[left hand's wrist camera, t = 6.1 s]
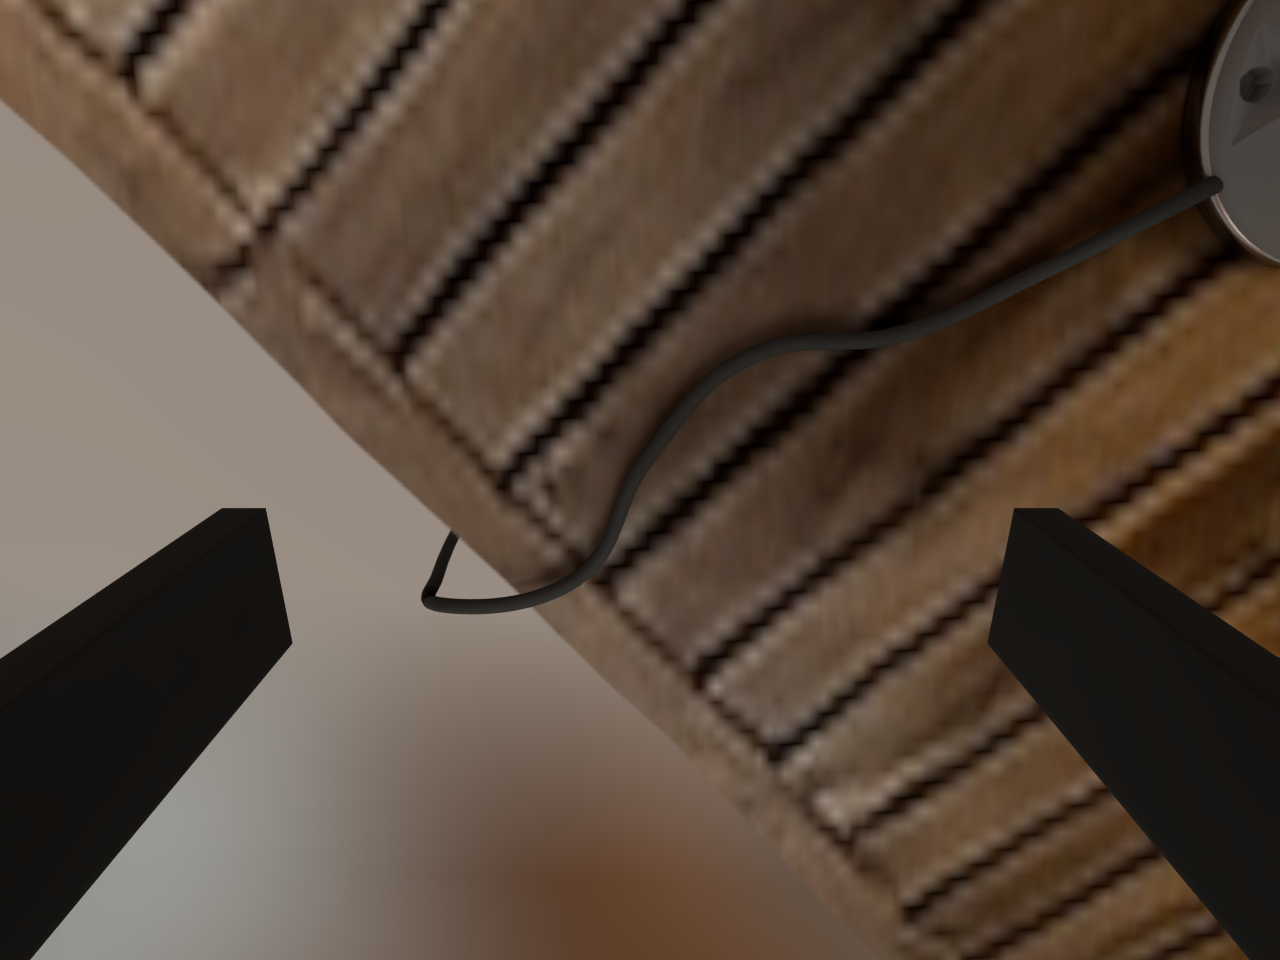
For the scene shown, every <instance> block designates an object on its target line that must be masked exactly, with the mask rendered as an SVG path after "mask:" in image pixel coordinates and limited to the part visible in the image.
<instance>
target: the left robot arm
mask: <svg viewBox="0 0 1280 960" xmlns="http://www.w3.org/2000/svg"><path fill="white" fill-rule="evenodd" d="M1183 153H1184V164H1185V170H1186V175H1187V180H1188V184H1189V188H1187V189H1185V190H1183V191H1181V192H1179V193H1177V194H1175V195H1173V196H1171V197H1169V198H1167V199H1165V200H1163V201H1161V202H1159V203H1158V204H1156V205H1154V206H1152V207H1150V208H1148V209H1146V210H1144V211H1142V212H1140V213H1138V214H1136V215H1134V216H1132V217H1130V218H1128V219H1126V220H1124V221H1122V222H1120V223H1118V224H1116V225H1114V226H1112V227H1110V228H1108V229H1106V230H1104V231H1102V232H1100V233H1098V234H1097V235H1095V236H1093V237H1091V238H1089V239H1087V240H1085V241H1083V242H1081V243H1079V244H1077V245H1075V246H1073V247H1071V248H1069V249H1067V250H1065V251H1063V252H1061V253H1059V254H1057V255H1055V256H1053V257H1051V258H1049V259H1047V260H1044V261H1042V262H1040V263H1038V264H1036V265H1034V266H1032V267H1030V268H1028V269H1026V270H1024V271H1022V272H1020V273H1018V274H1016V275H1014V276H1012V277H1010V278H1008V279H1006V280H1004V281H1002V282H1000V283H998V284H996V285H994V286H992V287H990V288H988V289H986V290H984V291H982V292H980V293H978V294H976V295H974V296H972V297H970V298H968V299H966V300H964V301H962V302H960V303H958V304H956V305H954V306H951V307H949V308H947V309H944V310H942V311H940V312H937V313H935V314H932V315H930V316H927V317H924V318H921V319H919V320H916V321H913V322H910V323H907V324H903V325H900V326H896V327H892V328H888V329H884V330H878V331H871V332H860V333H810V334H797V335H789V336H783V337H779V338H774V339H771V340H767V341H764V342H761V343H758V344H756V345H754V346H752V347H750V348H747V349H745V350H743V351H741V352H740V353H738V354H736V355H734V356H732V357H731V358H729V359H728V360H726V361H725V362H723V363H721V364H720V365H719V366H717V367H716V368H715V369H713V370H712V371H711V372H709V373H708V374H707V375H706V376H705V377H704V378H702V379H701V380H700V381H699V382H698V383H697V384H696V385H695V386H694V387H693V388H692V389H691V390H690V391H689V392H688V393H687V395H686V396H685V397H684V398H683V399H682V400H681V402H680V403H679V404H678V405H677V406H676V408H675V409H674V410H673V411H672V413H671V414H670V415H669V417H668V418H667V419H666V421H665V422H664V423H663V425H662V426H661V427H660V429H659V430H658V432H657V433H656V434H655V436H654V437H653V438H652V440H651V441H650V442H649V444H648V445H647V446H646V448H645V449H644V450H643V452H642V453H641V454H640V456H639V457H638V459H637V460H636V462H635V463H634V465H633V466H632V468H631V470H630V472H629V473H628V475H627V477H626V479H625V481H624V483H623V485H622V488H621V490H620V493H619V495H618V498H617V500H616V503H615V506H614V508H613V511H612V514H611V517H610V520H609V522H608V525H607V527H606V530H605V532H604V535H603V537H602V539H601V541H600V543H599V544H598V546H597V548H596V550H595V551H594V552H593V554H592V555H591V556H590V558H589V559H588V560H587V561H586V562H585V563H584V564H583V565H582V566H580V567H579V568H578V569H577V570H575V571H574V572H573V573H571V574H570V575H568V576H566V577H565V578H563V579H561V580H559V581H557V582H555V583H553V584H551V585H548V586H546V587H543V588H541V589H538V590H535V591H531V592H528V593H524V594H519V595H514V596H508V597H502V598H492V599H452V598H442V597H436V593H437V591H438V590H439V588H440V586H441V584H442V581H443V578H444V575H445V572H446V569H447V566H448V563H449V560H450V558H451V555H452V553H453V550H454V548H455V546H456V544H457V542H458V539H459V537H458V536H457V535H456V534H454V532H453V531H451V530H450V532H449V534H448V536H447V538H446V540H445V542H444V544H443V546H442V548H441V551H440V553H439V555H438V557H437V560H436V563H435V565H434V568H433V571H432V574H431V576H430V578H429V580H428V582H427V583H426V585H425V587H424V589H423V591H422V595H421V601H422V603H423V605H424V606H425V607H426V608H428V609H430V610H433V611H437V612H443V613H452V614H492V613H501V612H509V611H515V610H520V609H525V608H529V607H533V606H536V605H539V604H543V603H545V602H548V601H551V600H553V599H556V598H558V597H560V596H562V595H564V594H566V593H568V592H570V591H572V590H573V589H575V588H576V587H578V586H580V585H581V584H582V583H584V582H585V581H586V580H588V579H589V578H590V577H591V576H592V575H593V574H594V573H595V572H596V571H597V570H598V569H599V568H600V567H601V566H602V565H603V563H604V562H605V561H606V559H607V558H608V556H609V554H610V553H611V551H612V549H613V547H614V545H615V543H616V541H617V539H618V537H619V534H620V532H621V529H622V526H623V524H624V521H625V518H626V516H627V513H628V510H629V507H630V505H631V502H632V500H633V497H634V495H635V493H636V491H637V489H638V487H639V485H640V483H641V481H642V479H643V478H644V476H645V474H646V473H647V471H648V470H649V468H650V467H651V466H652V464H653V463H654V461H655V460H656V459H657V457H658V456H659V455H660V454H661V452H662V451H663V450H664V448H665V447H666V446H667V444H668V443H669V442H670V440H671V439H672V437H673V436H674V435H675V433H676V432H677V431H678V429H679V428H680V427H681V426H682V424H683V423H684V422H685V420H686V419H687V418H688V417H689V415H690V414H691V413H692V412H693V411H694V409H695V408H696V407H697V406H698V405H699V404H700V403H701V402H702V401H703V400H704V399H705V398H706V397H707V396H708V395H709V394H710V393H711V392H712V391H713V390H714V389H715V388H717V387H718V386H719V385H720V384H722V383H723V382H724V381H726V380H727V379H728V378H730V377H731V376H733V375H734V374H736V373H737V372H739V371H741V370H743V369H744V368H746V367H748V366H750V365H752V364H754V363H756V362H758V361H761V360H763V359H765V358H768V357H771V356H774V355H778V354H782V353H787V352H794V351H802V350H849V349H867V348H876V347H882V346H888V345H893V344H897V343H901V342H905V341H908V340H911V339H914V338H917V337H920V336H923V335H926V334H929V333H932V332H934V331H937V330H940V329H942V328H945V327H947V326H950V325H952V324H954V323H957V322H959V321H961V320H963V319H966V318H968V317H970V316H972V315H974V314H976V313H978V312H980V311H982V310H984V309H986V308H988V307H990V306H992V305H994V304H996V303H998V302H1000V301H1002V300H1004V299H1006V298H1008V297H1010V296H1012V295H1014V294H1016V293H1018V292H1020V291H1022V290H1024V289H1026V288H1028V287H1030V286H1032V285H1034V284H1036V283H1038V282H1040V281H1042V280H1044V279H1047V278H1049V277H1051V276H1053V275H1055V274H1057V273H1059V272H1061V271H1063V270H1065V269H1068V268H1070V267H1072V266H1074V265H1076V264H1078V263H1080V262H1082V261H1084V260H1086V259H1088V258H1090V257H1092V256H1094V255H1096V254H1098V253H1100V252H1102V251H1104V250H1106V249H1108V248H1110V247H1112V246H1114V245H1116V244H1118V243H1120V242H1122V241H1124V240H1126V239H1128V238H1130V237H1132V236H1134V235H1136V234H1138V233H1140V232H1142V231H1144V230H1146V229H1148V228H1150V227H1152V226H1154V225H1156V224H1158V223H1160V222H1162V221H1164V220H1166V219H1168V218H1170V217H1172V216H1174V215H1176V214H1178V213H1180V212H1182V211H1184V210H1186V209H1188V208H1190V207H1192V206H1194V205H1197V208H1198V210H1199V211H1200V213H1201V215H1202V216H1203V218H1204V220H1205V221H1206V223H1207V224H1208V225H1209V226H1210V228H1211V229H1212V230H1213V232H1214V233H1215V234H1216V235H1217V236H1218V237H1219V238H1220V239H1221V240H1222V241H1223V242H1224V243H1226V244H1227V245H1228V246H1230V247H1231V248H1232V249H1234V250H1235V251H1237V252H1239V253H1240V254H1242V255H1244V256H1246V257H1247V258H1250V259H1252V260H1255V261H1257V262H1259V263H1263V264H1266V265H1270V266H1274V267H1279V268H1280V0H1232V1H1231V2H1230V4H1229V5H1228V7H1227V8H1226V10H1225V11H1224V13H1223V14H1222V16H1221V18H1220V19H1219V21H1218V23H1217V25H1216V26H1215V28H1214V30H1213V32H1212V34H1211V36H1210V37H1209V40H1208V42H1207V44H1206V46H1205V48H1204V51H1203V53H1202V55H1201V57H1200V60H1199V63H1198V66H1197V68H1196V71H1195V74H1194V77H1193V80H1192V84H1191V88H1190V91H1189V95H1188V100H1187V106H1186V111H1185V119H1184V129H1183ZM291 644H292V638H291V633H290V628H289V623H288V618H287V613H286V608H285V603H284V598H283V593H282V588H281V583H280V578H279V573H278V568H277V563H276V558H275V553H274V548H273V542H272V537H271V532H270V527H269V522H268V517H267V512H266V508H222V509H220V510H219V511H217V512H216V513H214V514H213V515H211V516H210V517H208V518H207V519H205V520H204V521H202V522H201V523H200V524H198V525H197V526H195V527H194V528H192V529H191V530H189V531H188V532H186V533H185V534H183V535H182V536H180V537H179V538H178V539H176V540H175V541H173V542H172V543H170V544H169V545H167V546H166V547H164V548H163V549H161V550H160V551H158V552H157V553H155V554H154V555H153V556H151V557H149V558H148V559H147V560H145V561H144V562H142V563H141V564H139V565H138V566H136V567H135V568H133V569H132V570H130V571H129V572H127V573H126V574H124V575H123V576H122V577H120V578H119V579H117V580H116V581H114V582H113V583H111V584H110V585H108V586H107V587H105V588H104V589H102V590H101V591H99V592H98V593H97V594H95V595H94V596H92V597H91V598H89V599H88V600H86V601H85V602H83V603H82V604H80V605H79V606H77V607H76V608H74V609H73V610H72V611H70V612H69V613H67V614H66V615H64V616H63V617H61V618H60V619H58V620H57V621H55V622H54V623H52V624H51V625H49V626H48V627H46V628H45V629H44V630H42V631H41V632H39V633H38V634H36V635H35V636H33V637H32V638H30V639H29V640H27V641H26V642H24V643H23V644H21V645H20V646H19V647H17V648H16V649H14V650H13V651H11V652H10V653H8V654H7V655H5V656H4V657H2V658H1V659H0V960H30V959H31V958H32V957H33V956H34V954H35V953H36V952H37V951H38V950H39V948H40V947H41V946H42V945H43V944H44V942H45V941H46V940H47V939H48V938H49V936H50V935H51V934H52V933H53V931H54V930H55V929H56V928H57V927H58V926H59V924H60V923H61V922H62V921H63V920H64V918H65V917H66V916H67V915H68V913H69V912H70V911H71V910H72V909H73V907H74V906H75V905H76V904H77V903H78V901H79V900H80V899H81V898H82V897H83V895H84V894H85V893H86V892H87V890H88V889H89V888H90V887H91V886H92V884H93V883H94V882H95V881H96V880H97V879H98V877H99V876H100V875H101V874H102V872H103V871H104V870H105V869H106V868H107V866H108V865H109V864H110V863H111V862H112V860H113V859H114V858H115V857H116V856H117V854H118V853H119V852H120V851H121V850H122V848H123V847H124V846H125V845H126V843H127V842H128V841H129V840H130V839H131V838H132V836H133V835H134V834H135V833H136V831H137V830H138V829H139V828H140V827H141V825H142V824H143V823H144V822H145V821H146V819H147V818H148V817H149V816H150V815H151V813H152V812H153V811H154V810H155V809H156V807H157V806H158V805H159V804H160V802H161V801H162V800H163V799H164V798H165V796H166V795H167V794H168V793H169V792H170V790H171V789H172V788H173V787H174V786H175V784H176V783H177V782H178V781H179V780H180V778H181V777H182V776H183V775H184V774H185V772H186V771H187V770H188V769H189V768H190V766H191V765H192V764H193V763H194V762H195V760H196V759H197V758H198V757H199V755H200V754H201V753H202V752H203V751H204V749H205V748H206V747H207V746H208V745H209V743H210V742H211V741H212V740H213V739H214V737H215V736H216V735H217V734H218V733H219V731H220V730H221V729H222V728H223V727H224V725H225V724H226V723H227V722H228V721H229V719H230V718H231V717H232V716H233V714H234V713H235V712H236V711H237V710H238V708H239V707H240V706H241V705H242V704H243V702H244V701H245V700H246V699H247V698H248V696H249V695H250V694H251V693H252V692H253V690H254V689H255V688H256V687H257V686H258V684H259V683H260V682H261V681H262V679H263V678H264V677H265V676H266V675H267V673H268V672H269V671H270V670H271V669H272V667H273V666H274V665H275V664H276V663H277V661H278V660H279V659H280V658H281V657H282V655H283V654H284V653H285V652H286V651H287V649H288V648H289V647H290V646H291ZM988 645H989V646H990V647H991V648H992V649H993V651H994V652H995V653H996V654H997V655H998V657H999V658H1000V659H1001V660H1002V661H1003V663H1004V664H1005V665H1006V666H1007V667H1008V669H1009V670H1010V671H1011V672H1012V673H1013V675H1014V676H1015V677H1016V678H1017V680H1018V681H1019V682H1020V683H1021V684H1022V686H1023V687H1024V688H1025V689H1026V690H1027V692H1028V693H1029V694H1030V695H1031V696H1032V698H1033V699H1034V700H1035V701H1036V702H1037V704H1038V705H1039V706H1040V707H1041V708H1042V710H1043V711H1044V712H1045V713H1046V714H1047V716H1048V717H1049V718H1050V719H1051V721H1052V722H1053V723H1054V724H1055V725H1056V727H1057V728H1058V729H1059V730H1060V731H1061V733H1062V734H1063V735H1064V736H1065V737H1066V739H1067V740H1068V741H1069V742H1070V743H1071V745H1072V746H1073V747H1074V748H1075V749H1076V751H1077V752H1078V753H1079V754H1080V755H1081V757H1082V758H1083V759H1084V760H1085V762H1086V763H1087V764H1088V765H1089V766H1090V768H1091V769H1092V770H1093V771H1094V772H1095V774H1096V775H1097V776H1098V777H1099V778H1100V780H1101V781H1102V782H1103V783H1104V784H1105V786H1106V787H1107V788H1108V789H1109V790H1110V792H1111V793H1112V794H1113V795H1114V797H1115V798H1116V799H1117V800H1118V801H1119V803H1120V804H1121V805H1122V806H1123V807H1124V809H1125V810H1126V811H1127V812H1128V813H1129V815H1130V816H1131V817H1132V818H1133V819H1134V821H1135V822H1136V823H1137V824H1138V825H1139V827H1140V828H1141V829H1142V830H1143V831H1144V833H1145V834H1146V835H1147V836H1148V838H1149V839H1150V840H1151V841H1152V842H1153V844H1154V845H1155V846H1156V847H1157V848H1158V850H1159V851H1160V852H1161V853H1162V854H1163V856H1164V857H1165V858H1166V859H1167V860H1168V862H1169V863H1170V864H1171V865H1172V866H1173V868H1174V869H1175V870H1176V871H1177V872H1178V874H1179V875H1180V876H1181V877H1182V879H1183V880H1184V881H1185V882H1186V883H1187V885H1188V886H1189V887H1190V888H1191V889H1192V891H1193V892H1194V893H1195V894H1196V895H1197V897H1198V898H1199V899H1200V900H1201V901H1202V903H1203V904H1204V905H1205V906H1206V907H1207V909H1208V910H1209V911H1210V912H1211V913H1212V915H1213V916H1214V917H1215V918H1216V920H1217V921H1218V922H1219V923H1220V924H1221V926H1222V927H1223V928H1224V929H1225V930H1226V932H1227V933H1228V934H1229V935H1230V936H1231V938H1232V939H1233V940H1234V941H1235V942H1236V944H1237V945H1238V946H1239V947H1240V948H1241V950H1242V951H1243V952H1244V953H1245V955H1246V956H1247V957H1248V958H1249V959H1250V960H1280V658H1279V657H1277V656H1275V655H1273V654H1272V653H1270V652H1269V651H1267V650H1266V649H1264V648H1263V647H1261V646H1260V645H1259V644H1257V643H1256V642H1254V641H1253V640H1251V639H1250V638H1248V637H1247V636H1245V635H1244V634H1242V633H1241V632H1239V631H1238V630H1236V629H1235V628H1234V627H1232V626H1231V625H1229V624H1228V623H1226V622H1225V621H1223V620H1222V619H1220V618H1219V617H1217V616H1216V615H1214V614H1213V613H1211V612H1210V611H1209V610H1207V609H1206V608H1204V607H1203V606H1201V605H1200V604H1198V603H1197V602H1195V601H1194V600H1192V599H1191V598H1189V597H1188V596H1186V595H1185V594H1183V593H1182V592H1181V591H1179V590H1178V589H1176V588H1175V587H1173V586H1172V585H1170V584H1169V583H1167V582H1166V581H1164V580H1163V579H1161V578H1160V577H1158V576H1157V575H1156V574H1154V573H1153V572H1151V571H1150V570H1148V569H1147V568H1145V567H1144V566H1142V565H1141V564H1139V563H1138V562H1136V561H1135V560H1133V559H1132V558H1131V557H1129V556H1128V555H1126V554H1125V553H1123V552H1122V551H1120V550H1119V549H1117V548H1116V547H1114V546H1113V545H1111V544H1110V543H1108V542H1107V541H1105V540H1104V539H1103V538H1101V537H1100V536H1098V535H1097V534H1095V533H1094V532H1092V531H1091V530H1089V529H1088V528H1086V527H1085V526H1083V525H1082V524H1080V523H1079V522H1078V521H1076V520H1075V519H1073V518H1072V517H1070V516H1069V515H1067V514H1066V513H1064V512H1063V511H1061V510H1060V509H1058V508H1014V512H1013V517H1012V522H1011V527H1010V532H1009V537H1008V542H1007V548H1006V553H1005V558H1004V563H1003V568H1002V573H1001V578H1000V583H999V588H998V593H997V598H996V603H995V608H994V613H993V618H992V623H991V628H990V633H989V638H988Z"/></svg>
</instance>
